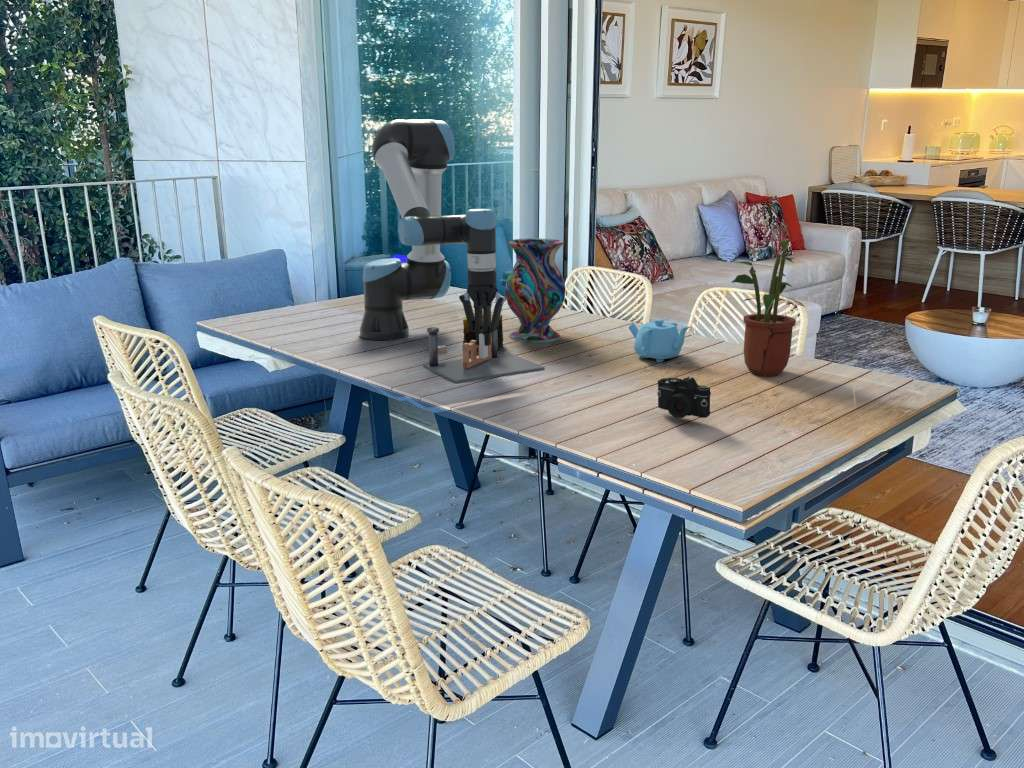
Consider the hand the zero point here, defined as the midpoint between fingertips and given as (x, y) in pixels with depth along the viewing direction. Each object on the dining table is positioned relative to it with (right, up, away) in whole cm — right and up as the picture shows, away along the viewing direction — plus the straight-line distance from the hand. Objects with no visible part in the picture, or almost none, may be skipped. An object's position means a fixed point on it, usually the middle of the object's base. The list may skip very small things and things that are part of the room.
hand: (483, 357), depth 233 cm
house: (-35, +28, +113) cm, 122 cm away
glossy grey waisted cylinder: (+2, 0, +11) cm, 11 cm away
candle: (-1, +2, +21) cm, 21 cm away
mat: (0, -3, +1) cm, 3 cm away
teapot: (+49, 0, +12) cm, 50 cm away
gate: (-2, -1, +3) cm, 4 cm away
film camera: (+45, -15, -37) cm, 60 cm away
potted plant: (+72, -5, -4) cm, 72 cm away
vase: (+15, +7, +36) cm, 39 cm away
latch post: (-13, -2, +3) cm, 13 cm away
